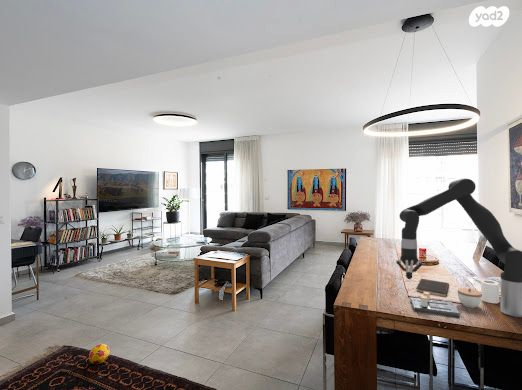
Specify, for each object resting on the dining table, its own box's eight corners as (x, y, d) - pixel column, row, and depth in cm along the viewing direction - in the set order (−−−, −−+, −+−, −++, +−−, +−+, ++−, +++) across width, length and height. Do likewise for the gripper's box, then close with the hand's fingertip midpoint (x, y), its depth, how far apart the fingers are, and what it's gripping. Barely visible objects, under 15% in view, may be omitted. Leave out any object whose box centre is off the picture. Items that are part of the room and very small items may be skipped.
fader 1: (428, 300, 152) (428, 292, 152) (429, 302, 149) (429, 294, 149) (423, 299, 153) (423, 291, 153) (424, 301, 150) (424, 293, 150)
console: (452, 305, 150) (452, 301, 150) (459, 317, 137) (459, 312, 137) (410, 300, 158) (410, 296, 158) (414, 311, 145) (414, 306, 145)
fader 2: (426, 304, 146) (426, 296, 146) (427, 307, 143) (427, 298, 143) (420, 303, 147) (420, 295, 147) (421, 306, 144) (421, 298, 144)
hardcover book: (416, 291, 172) (416, 288, 172) (421, 281, 191) (421, 278, 191) (446, 297, 163) (446, 293, 163) (449, 286, 181) (449, 283, 181)
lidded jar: (471, 301, 156) (471, 284, 156) (487, 309, 145) (487, 291, 145) (452, 301, 156) (452, 285, 155) (467, 310, 145) (467, 292, 145)
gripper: (422, 246, 148) (421, 278, 149) (394, 244, 153) (394, 275, 154) (424, 249, 142) (424, 282, 142) (395, 247, 146) (395, 279, 147)
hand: (408, 278), depth 148 cm, fingers closed
